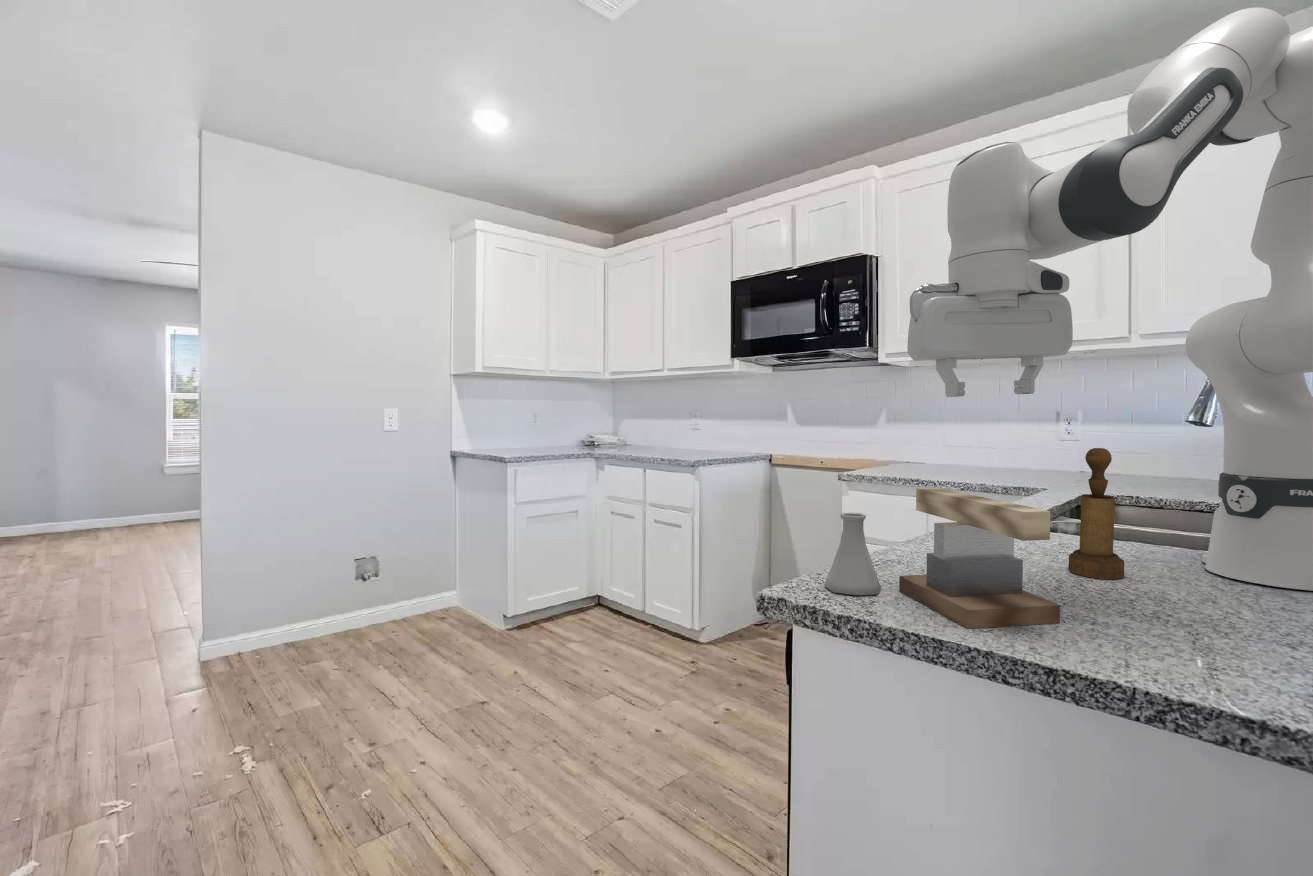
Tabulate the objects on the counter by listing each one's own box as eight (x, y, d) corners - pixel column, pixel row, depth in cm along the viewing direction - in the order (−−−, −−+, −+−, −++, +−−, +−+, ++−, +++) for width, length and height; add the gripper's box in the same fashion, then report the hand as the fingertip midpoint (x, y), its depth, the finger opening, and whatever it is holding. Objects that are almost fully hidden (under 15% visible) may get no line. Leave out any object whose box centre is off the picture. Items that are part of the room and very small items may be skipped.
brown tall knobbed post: (1124, 582, 83) (1127, 450, 82) (1066, 575, 87) (1069, 448, 86) (1123, 572, 88) (1127, 447, 88) (1069, 565, 92) (1072, 446, 91)
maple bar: (1049, 539, 64) (1050, 511, 63) (1023, 540, 63) (1024, 512, 63) (936, 509, 83) (936, 487, 83) (916, 510, 83) (916, 488, 83)
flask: (886, 598, 77) (886, 519, 76) (826, 595, 78) (826, 518, 78) (876, 583, 84) (877, 510, 83) (822, 580, 85) (822, 509, 85)
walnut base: (976, 587, 81) (977, 572, 81) (1059, 623, 67) (1060, 605, 67) (899, 591, 80) (899, 575, 80) (968, 628, 66) (968, 610, 66)
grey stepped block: (993, 581, 77) (994, 518, 76) (1022, 593, 72) (1023, 525, 71) (926, 585, 75) (927, 520, 75) (951, 597, 70) (952, 528, 70)
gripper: (925, 278, 71) (927, 397, 71) (1082, 276, 74) (1083, 391, 74) (896, 289, 77) (898, 399, 78) (1041, 287, 80) (1043, 393, 81)
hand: (990, 395), depth 76 cm, fingers open, 8 cm apart
